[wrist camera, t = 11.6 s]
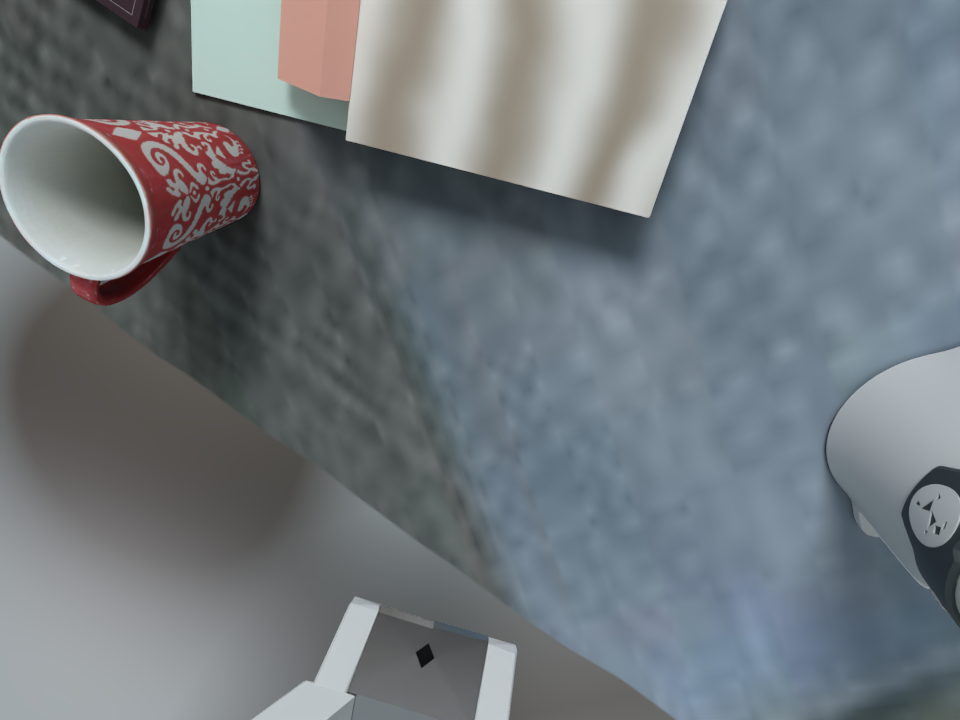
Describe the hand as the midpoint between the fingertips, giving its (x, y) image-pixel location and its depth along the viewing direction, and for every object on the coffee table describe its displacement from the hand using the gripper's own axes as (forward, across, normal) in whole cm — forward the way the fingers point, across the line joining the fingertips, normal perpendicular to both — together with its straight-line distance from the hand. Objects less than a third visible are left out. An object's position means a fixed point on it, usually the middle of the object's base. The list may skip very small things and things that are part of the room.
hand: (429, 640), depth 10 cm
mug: (+34, +26, +4) cm, 43 cm away
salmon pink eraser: (+32, +16, -10) cm, 37 cm away
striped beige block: (+34, +4, -10) cm, 36 cm away
